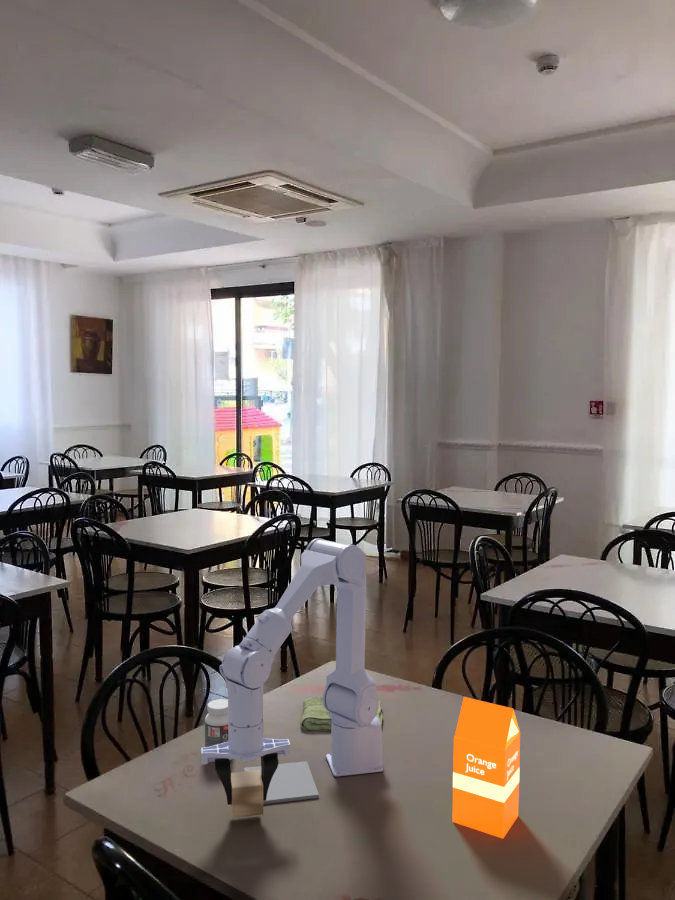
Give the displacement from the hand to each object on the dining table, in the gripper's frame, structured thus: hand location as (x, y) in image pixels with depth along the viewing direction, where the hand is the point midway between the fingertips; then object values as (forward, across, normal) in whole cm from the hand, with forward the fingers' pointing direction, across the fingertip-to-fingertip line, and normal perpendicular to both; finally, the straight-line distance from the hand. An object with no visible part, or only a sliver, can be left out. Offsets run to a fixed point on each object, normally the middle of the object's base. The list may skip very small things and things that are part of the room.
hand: (246, 799), depth 123 cm
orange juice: (+4, +39, -8) cm, 40 cm away
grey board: (+3, +7, +10) cm, 13 cm away
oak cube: (+2, 0, 0) cm, 2 cm away
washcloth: (+4, +24, +34) cm, 42 cm away
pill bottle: (+4, -3, +24) cm, 24 cm away
